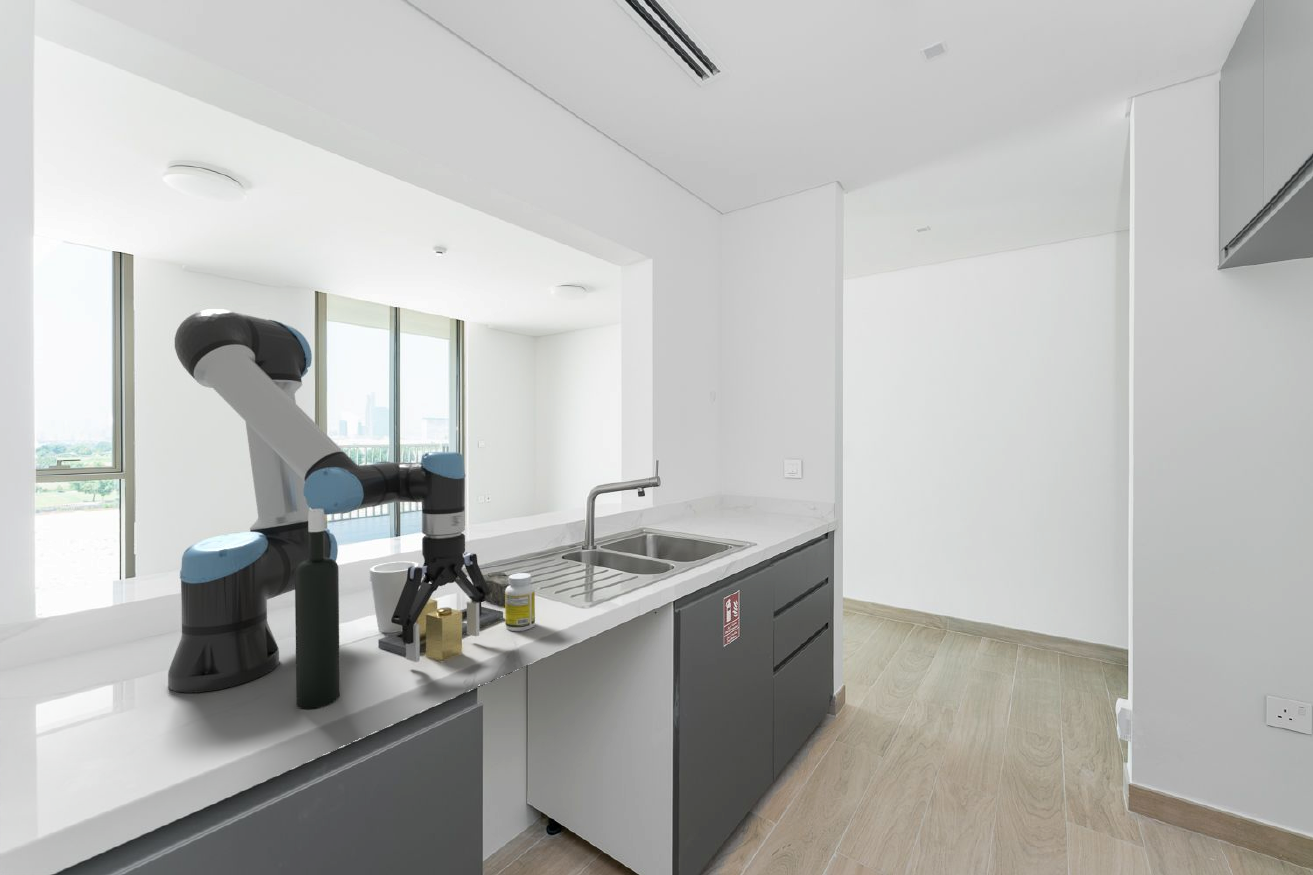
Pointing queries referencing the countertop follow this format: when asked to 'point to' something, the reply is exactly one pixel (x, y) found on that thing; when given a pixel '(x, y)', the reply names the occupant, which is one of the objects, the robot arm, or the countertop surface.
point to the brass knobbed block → (443, 634)
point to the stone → (496, 587)
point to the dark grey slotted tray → (397, 645)
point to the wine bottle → (317, 622)
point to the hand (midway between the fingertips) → (444, 646)
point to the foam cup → (388, 591)
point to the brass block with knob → (421, 620)
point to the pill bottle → (519, 603)
